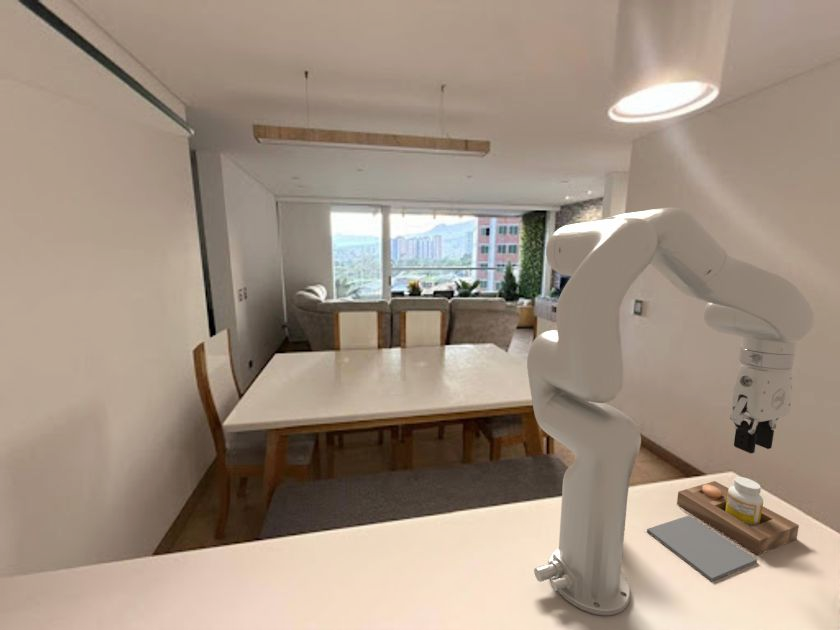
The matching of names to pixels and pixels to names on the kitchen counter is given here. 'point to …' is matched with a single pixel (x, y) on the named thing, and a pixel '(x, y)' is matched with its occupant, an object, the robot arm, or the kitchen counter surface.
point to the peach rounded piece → (711, 492)
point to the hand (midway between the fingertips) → (752, 446)
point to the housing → (754, 538)
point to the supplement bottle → (745, 501)
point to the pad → (701, 547)
